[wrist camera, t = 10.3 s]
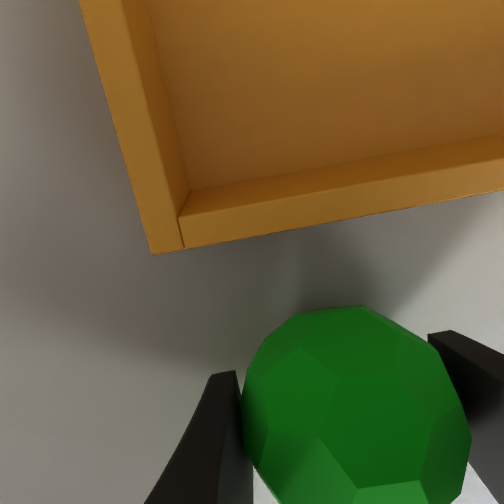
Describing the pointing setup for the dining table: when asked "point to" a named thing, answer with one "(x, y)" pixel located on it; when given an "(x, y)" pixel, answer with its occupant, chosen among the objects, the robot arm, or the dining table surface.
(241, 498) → the robot arm
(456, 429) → the polyhedron
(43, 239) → the dining table surface
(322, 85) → the tray
